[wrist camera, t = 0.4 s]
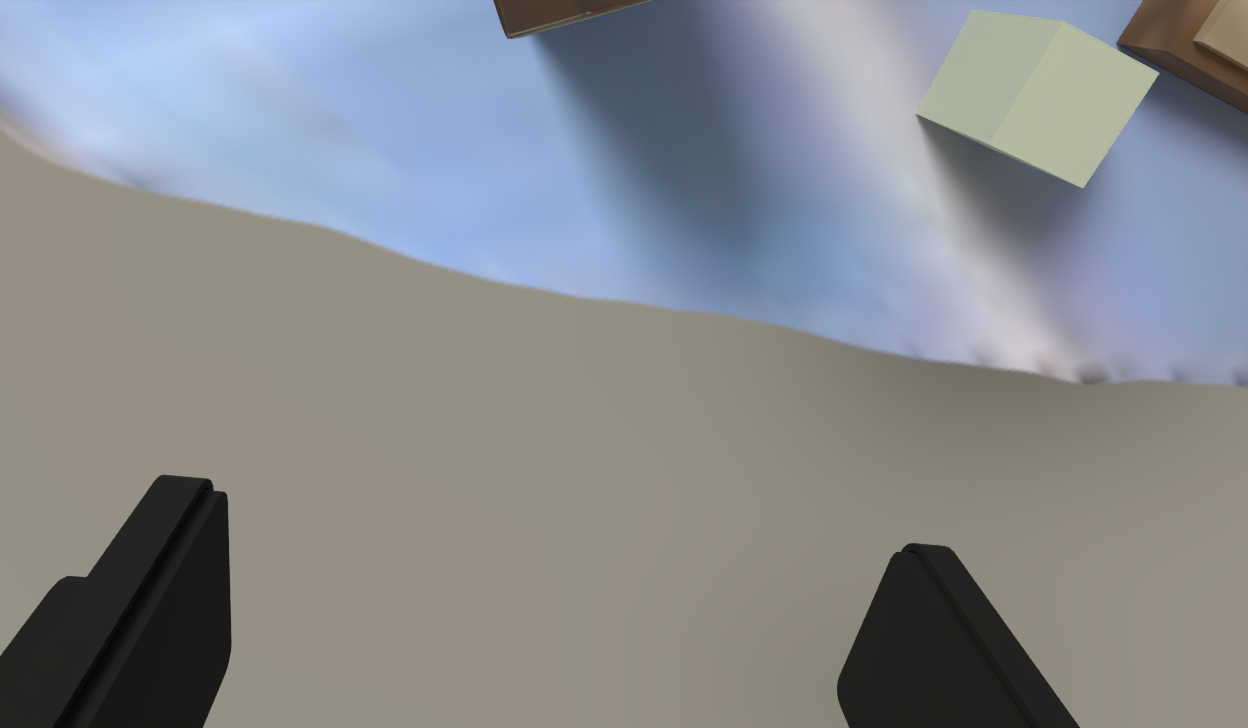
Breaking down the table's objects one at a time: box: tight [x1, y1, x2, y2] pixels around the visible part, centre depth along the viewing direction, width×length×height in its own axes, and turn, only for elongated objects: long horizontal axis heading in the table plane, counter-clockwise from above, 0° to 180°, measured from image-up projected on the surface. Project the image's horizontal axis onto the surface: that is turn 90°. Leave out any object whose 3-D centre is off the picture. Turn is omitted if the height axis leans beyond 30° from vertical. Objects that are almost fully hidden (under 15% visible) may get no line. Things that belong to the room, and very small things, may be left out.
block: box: [915, 9, 1159, 188], centre depth 35 cm, size 5×5×7 cm
